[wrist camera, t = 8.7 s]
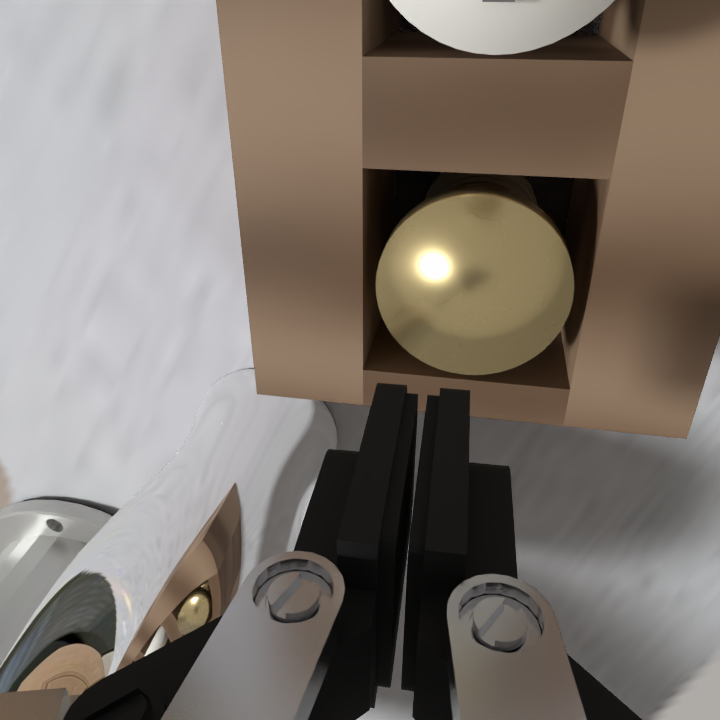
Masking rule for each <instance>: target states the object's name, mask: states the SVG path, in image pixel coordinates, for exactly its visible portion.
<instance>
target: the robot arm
mask: <svg viewBox="0 0 720 720" xmlns="http://www.w3.org/2000/svg"><path fill="white" fill-rule="evenodd" d="M417 411H418V394H413V393H407V385H400V384H388V383H377V385H376V389H375V393H374V397H373V400H372V404H371V408H370V412H369V416H368V420H367V424H366V428H365V431H364V435H363V439H362V443H361V447H360V451H359V452H356V451H345V450H335V449H328V450H327V452H326V454H325V457H324V460H323V463H322V466H321V469H320V472H319V475H318V478H317V481H316V484H315V487H314V490H313V493H312V496H311V499H310V502H309V505H308V508H307V511H306V514H305V517H304V520H303V523H302V526H301V529H300V532H299V535H298V539H297V542H296V545H295V548H294V551H291V552H282V553H279V554H277V555H274V556H271V557H268V558H267V559H265V560H264V561H262V562H261V563H259V564H258V565H256V566H255V567H254V568H253V569H252V571H251V572H250V573H249V574H248V575H247V577H246V578H245V580H244V581H243V583H242V585H241V586H240V588H239V590H238V591H237V593H236V595H235V596H234V598H233V600H232V601H231V603H230V605H229V606H228V608H227V610H226V611H225V613H224V614H223V615H221V616H220V617H218V618H216V619H214V620H212V621H210V622H208V623H206V624H204V625H203V626H201V627H199V628H197V629H195V630H193V631H191V632H189V633H188V634H186V635H184V636H182V637H180V638H178V639H176V640H174V641H173V642H171V643H169V644H167V645H165V646H163V647H161V648H159V649H157V650H156V651H154V652H152V653H150V654H148V655H146V656H144V657H142V658H141V659H139V660H137V661H135V662H133V663H131V664H129V665H127V666H126V667H124V668H122V669H120V670H118V671H116V672H114V673H112V674H110V675H109V676H107V677H105V678H103V679H101V680H100V681H98V682H97V683H95V684H94V685H92V686H91V687H89V688H88V689H86V690H85V691H84V692H83V693H82V694H80V695H68V692H67V689H66V688H55V689H42V690H29V691H17V692H4V693H0V720H356V719H357V718H359V717H360V716H362V715H363V714H365V713H366V712H367V711H369V709H370V708H374V707H375V700H376V693H377V686H382V687H389V688H390V686H391V680H392V672H393V664H394V656H395V648H396V640H397V632H398V624H399V616H400V608H401V600H402V592H403V584H404V576H405V568H406V560H407V553H408V565H407V585H406V604H405V624H404V644H403V664H402V683H401V689H402V690H409V691H414V701H413V716H412V717H413V718H414V719H415V720H642V719H641V718H640V717H638V716H637V715H636V714H635V713H634V712H633V711H632V710H630V709H629V708H628V707H627V706H626V705H625V704H624V703H622V702H621V701H620V700H619V699H618V698H617V697H616V696H614V695H613V694H612V693H611V692H610V691H609V690H608V689H606V688H605V687H604V686H603V685H602V684H601V683H600V682H598V681H597V680H596V679H595V678H594V677H593V676H592V675H590V674H589V673H588V672H587V671H586V670H585V669H584V668H582V667H581V666H580V665H579V664H578V663H577V662H576V661H575V660H573V659H572V658H571V657H570V656H569V655H568V654H567V653H566V650H565V646H564V643H563V640H562V637H561V633H560V630H559V627H558V624H557V620H556V617H555V615H554V613H553V611H552V609H551V606H550V604H549V602H548V601H547V600H546V599H545V598H544V597H543V596H542V595H541V594H540V593H539V592H538V591H537V590H536V589H534V588H533V587H531V586H530V585H528V584H527V583H525V582H524V581H521V580H518V578H517V563H516V548H515V534H514V519H513V504H512V489H511V474H510V468H509V466H501V465H490V464H480V463H469V429H470V390H461V389H449V388H440V394H439V396H437V395H427V403H426V411H425V419H424V427H423V435H422V443H421V451H420V459H419V467H418V475H417V483H416V491H415V499H414V507H413V515H412V506H413V487H414V468H415V449H416V430H417ZM111 517H112V515H110V514H107V513H105V512H103V511H100V510H97V509H94V508H91V507H88V506H84V505H81V504H77V503H71V502H65V501H60V500H29V501H23V502H17V503H14V504H12V505H10V506H7V507H5V508H2V509H1V510H0V664H1V663H2V661H3V660H4V658H5V656H6V655H7V653H8V651H9V650H10V648H11V647H12V645H13V643H14V642H15V640H16V639H17V637H18V635H19V634H20V632H21V631H22V629H23V628H24V626H25V625H26V623H27V622H28V620H29V619H30V617H31V616H32V614H33V613H34V611H35V610H36V608H37V607H38V605H39V604H40V602H41V601H42V600H43V598H44V597H45V595H46V594H47V592H48V591H49V590H50V588H51V587H52V586H53V584H54V583H55V582H56V581H57V579H58V578H59V577H60V575H61V574H62V573H63V571H64V570H65V569H66V568H67V566H68V565H69V564H70V562H71V561H72V560H73V559H74V557H75V556H76V555H77V554H78V552H79V551H80V550H81V549H82V548H83V547H84V546H85V545H86V544H87V543H88V542H89V541H90V540H91V538H92V537H93V536H94V535H95V534H96V533H97V532H98V531H99V530H100V529H101V528H102V527H103V526H104V524H105V523H106V522H107V521H108V520H109V519H110V518H111ZM411 519H412V523H411ZM410 529H411V531H410ZM409 537H410V540H409ZM408 545H409V551H408Z"/></svg>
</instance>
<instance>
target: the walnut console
mask: <svg viewBox="0 0 720 720" xmlns="http://www.w3.org/2000/svg"><path fill="white" fill-rule="evenodd" d="M216 4H217V14H218V24H219V33H220V43H221V53H222V62H223V72H224V82H225V91H226V101H227V110H228V120H229V130H230V139H231V149H232V159H233V168H234V178H235V188H236V197H237V207H238V217H239V226H240V236H241V246H242V255H243V265H244V275H245V284H246V294H247V303H248V313H249V323H250V332H251V342H252V352H253V361H254V371H255V381H256V390H257V394H259V395H269V396H279V397H288V398H298V399H308V400H317V401H327V402H337V403H346V404H356V405H366V406H371V404H372V400H373V397H374V393H375V389H376V385H377V383H388V384H400V385H407V393H413V394H418V411H424V412H425V411H426V403H427V395H437V396H439V394H440V388H449V389H461V390H470V416H472V417H481V418H491V419H501V420H510V421H520V422H530V423H539V424H549V425H559V426H568V427H578V428H588V429H597V430H607V431H617V432H626V433H636V434H645V435H655V436H665V437H674V438H684V439H687V436H688V433H689V430H690V427H691V423H692V420H693V417H694V414H695V411H696V408H697V405H698V401H699V398H700V395H701V392H702V389H703V386H704V383H705V379H706V376H707V373H708V370H709V367H710V364H711V361H712V358H713V354H714V351H715V348H716V345H717V342H718V339H719V336H720V0H614V1H613V3H612V4H611V5H610V6H609V7H608V8H607V9H605V10H604V11H603V12H602V13H601V18H600V24H599V30H598V34H571V35H569V36H567V37H565V38H562V39H560V40H558V41H556V42H554V43H552V44H549V45H546V46H543V47H540V48H537V49H534V50H531V51H525V52H520V53H515V54H502V55H488V54H477V53H471V52H467V51H463V50H459V49H455V48H453V47H450V46H448V45H445V44H443V43H440V42H438V41H437V40H435V39H433V38H431V37H430V36H428V35H426V34H424V33H423V32H399V13H400V12H399V11H398V10H397V9H396V8H395V7H394V6H393V4H392V3H391V2H390V0H216ZM396 170H412V171H435V172H457V173H479V174H501V175H523V176H545V177H567V178H574V182H573V188H572V194H571V200H570V206H569V212H568V219H567V225H566V231H565V237H564V240H565V242H566V245H567V248H568V251H569V255H570V259H571V264H572V269H573V274H574V296H573V302H572V306H571V310H570V313H569V315H568V317H567V320H566V322H565V324H564V326H563V327H562V329H561V331H560V332H559V334H558V335H557V336H556V338H555V339H554V340H553V341H552V342H551V343H550V344H549V345H548V346H547V347H546V348H545V349H544V350H543V351H542V352H541V353H539V354H538V355H537V356H535V357H534V358H532V359H531V360H529V361H527V362H525V363H524V364H521V365H519V366H517V367H514V368H512V369H509V370H506V371H502V372H498V373H493V374H485V375H463V374H457V373H451V372H447V371H444V370H440V369H438V368H435V367H432V366H430V365H428V364H426V363H424V362H422V361H420V360H419V359H417V358H416V357H414V356H413V355H411V354H410V353H409V352H408V351H407V350H405V349H404V348H403V347H402V346H401V345H400V344H399V343H398V342H397V340H396V339H395V338H394V337H393V336H392V334H391V333H390V331H389V330H388V328H387V326H386V324H385V322H384V320H383V318H382V316H381V313H380V310H379V307H378V302H377V297H376V274H377V269H378V265H379V261H380V258H381V256H382V253H383V251H384V248H385V246H386V243H387V241H388V239H389V237H390V235H391V233H392V232H393V230H394V226H395V183H396Z"/></svg>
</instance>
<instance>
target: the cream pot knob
mask: <svg viewBox="0 0 720 720" xmlns="http://www.w3.org/2000/svg"><path fill="white" fill-rule="evenodd" d="M613 1H614V0H390V2H391V3H392V4H393V6H394V7H395V8H396V9H397V10H398V11H399V12H400V13H401V14H402V15H403V16H404V17H405V18H406V19H407V20H408V21H409V22H410V23H411V24H413V25H414V26H415V27H416V28H418V29H419V30H420V31H422V32H423V33H424V34H426V35H428V36H430V37H431V38H433V39H435V40H437V41H438V42H440V43H443V44H445V45H448V46H450V47H453V48H455V49H459V50H463V51H467V52H471V53H477V54H488V55H502V54H515V53H520V52H525V51H531V50H534V49H537V48H540V47H543V46H546V45H549V44H552V43H554V42H556V41H558V40H560V39H562V38H565V37H567V36H569V35H571V34H572V33H574V32H575V31H577V30H579V29H580V28H582V27H583V26H585V25H586V24H588V23H589V22H591V21H592V20H593V19H594V18H596V17H597V16H598V15H599V14H600V13H602V12H603V11H604V10H605V9H607V8H608V7H609V6H610V5H611V4H612V3H613Z"/></svg>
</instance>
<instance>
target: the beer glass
mask: <svg viewBox="0 0 720 720" xmlns="http://www.w3.org/2000/svg"><path fill="white" fill-rule="evenodd" d="M328 449H335V450H336V449H337V430H336V426H335V422H334V419H333V417H332V415H331V413H330V411H329V409H328V408H327V406H326V405H325V404H324V402H323V401H317V400H308V399H298V398H288V397H279V396H269V395H259V394H257V390H256V381H255V371H254V369H245V370H239V371H235V372H232V373H229V374H227V375H225V376H223V377H221V378H220V379H218V380H217V381H216V382H214V383H213V384H212V385H211V386H210V387H209V388H208V389H207V391H206V392H205V394H204V396H203V397H202V400H201V402H200V405H199V407H198V410H197V413H196V416H195V419H194V422H193V425H192V428H191V430H190V432H189V434H188V436H187V438H186V440H185V441H184V443H183V445H182V446H181V448H180V449H179V450H178V452H177V451H176V454H175V456H174V457H173V458H172V459H171V460H170V461H169V462H168V463H167V464H166V465H165V466H164V467H163V468H162V470H161V471H160V472H159V473H158V474H157V475H156V476H154V477H153V478H152V479H151V480H150V481H149V482H148V483H147V484H146V485H145V486H144V487H143V488H142V489H141V490H139V491H138V492H137V493H136V494H135V495H134V496H133V497H132V498H131V499H130V500H129V501H128V502H127V503H126V504H125V505H124V506H123V507H122V508H121V509H120V510H119V511H118V512H117V513H116V514H115V515H113V516H112V517H111V518H110V519H109V520H108V521H107V522H106V523H105V524H104V526H103V527H102V528H101V529H100V530H99V531H98V532H97V533H96V534H95V535H94V536H93V537H92V538H91V540H90V541H89V542H88V543H87V544H86V545H85V546H84V547H83V548H82V549H81V550H80V551H79V552H78V554H77V555H76V556H75V557H74V559H73V560H72V561H71V562H70V564H69V565H68V566H67V568H66V569H65V570H64V571H63V573H62V574H61V575H60V577H59V578H58V579H57V581H56V582H55V583H54V584H53V586H52V587H51V588H50V590H49V591H48V592H47V594H46V595H45V597H44V598H43V600H42V601H41V602H40V604H39V605H38V607H37V608H36V610H35V611H34V613H33V614H32V616H31V617H30V619H29V620H28V622H27V623H26V625H25V626H24V628H23V629H22V631H21V632H20V634H19V635H18V637H17V639H16V640H15V642H14V643H13V645H12V647H11V648H10V650H9V651H8V653H7V655H6V656H5V658H4V660H3V661H2V663H1V664H0V693H4V692H17V691H29V690H42V689H55V688H66V689H67V692H68V695H80V694H82V693H83V692H84V691H85V690H86V689H88V688H89V687H91V686H92V685H94V684H95V683H97V682H98V681H100V680H101V679H103V678H105V677H107V676H109V675H110V674H112V673H114V672H116V671H118V670H120V669H122V668H124V667H126V666H127V665H129V664H131V663H133V662H135V661H137V660H139V659H141V658H142V657H144V656H146V655H148V654H150V653H152V652H154V651H156V650H157V649H159V648H161V647H163V646H165V645H167V644H169V643H171V642H173V641H174V640H176V639H178V638H180V637H182V636H184V635H186V634H188V633H189V632H191V631H193V630H195V629H197V628H199V627H201V626H203V625H204V624H206V623H208V622H210V621H212V620H214V619H216V618H218V617H220V616H221V615H223V614H224V613H225V611H226V610H227V608H228V606H229V605H230V603H231V601H232V600H233V598H234V596H235V595H236V593H237V591H238V590H239V588H240V586H241V585H242V583H243V581H244V580H245V578H246V577H247V575H248V574H249V573H250V572H251V571H252V569H253V568H254V567H255V566H256V565H258V564H259V563H261V562H262V561H264V560H265V559H267V558H268V557H271V556H274V555H277V554H279V553H282V552H291V551H294V548H295V545H296V542H297V539H298V535H299V532H300V528H301V522H302V518H303V515H304V511H305V507H306V505H307V503H308V500H309V498H310V496H311V494H312V493H313V490H314V487H315V484H316V481H317V478H318V475H319V472H320V469H321V466H322V463H323V460H324V457H325V454H326V452H327V450H328Z"/></svg>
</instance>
